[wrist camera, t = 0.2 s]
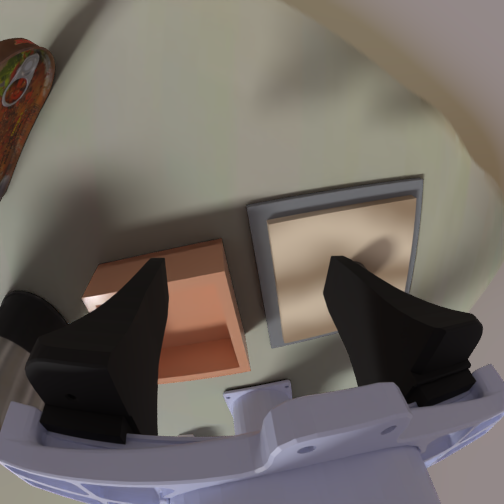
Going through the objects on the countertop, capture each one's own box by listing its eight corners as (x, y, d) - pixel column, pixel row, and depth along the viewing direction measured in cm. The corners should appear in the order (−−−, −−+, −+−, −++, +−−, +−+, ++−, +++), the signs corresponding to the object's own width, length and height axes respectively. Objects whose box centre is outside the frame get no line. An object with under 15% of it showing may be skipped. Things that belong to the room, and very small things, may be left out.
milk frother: (8, 272, 22) (-66, 389, 9) (140, 349, 28) (124, 487, 15) (-2, 347, 26) (-41, 439, 13) (100, 402, 32) (85, 501, 20)
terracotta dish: (244, 334, 28) (250, 371, 24) (143, 350, 28) (137, 386, 24) (221, 238, 23) (224, 271, 19) (98, 264, 22) (81, 298, 19)
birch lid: (396, 307, 29) (414, 332, 25) (282, 337, 28) (291, 369, 25) (411, 194, 22) (439, 213, 19) (266, 220, 22) (277, 246, 19)
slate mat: (402, 309, 30) (404, 312, 29) (270, 344, 29) (271, 348, 29) (419, 177, 22) (423, 179, 22) (246, 205, 22) (246, 207, 21)
